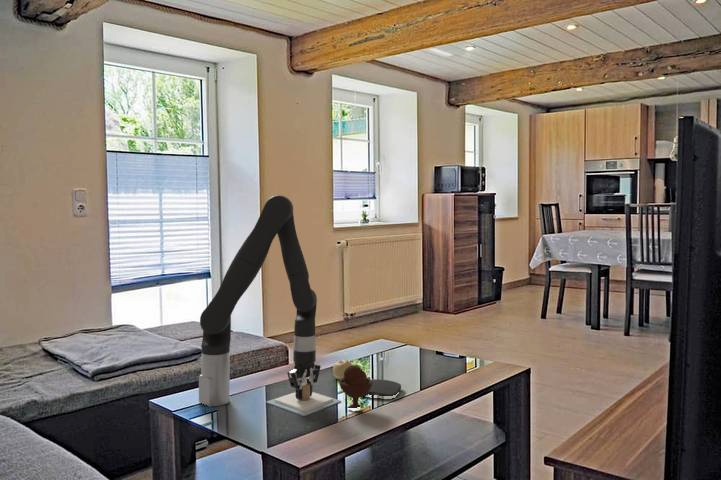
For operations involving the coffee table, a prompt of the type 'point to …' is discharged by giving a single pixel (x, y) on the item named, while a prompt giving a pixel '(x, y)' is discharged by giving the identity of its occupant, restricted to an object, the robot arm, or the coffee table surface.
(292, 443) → the coffee table surface
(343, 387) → the ice cream bowl
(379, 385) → the media streaming box
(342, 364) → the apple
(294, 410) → the rubber mat
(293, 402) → the cover sheet
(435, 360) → the coffee table surface
